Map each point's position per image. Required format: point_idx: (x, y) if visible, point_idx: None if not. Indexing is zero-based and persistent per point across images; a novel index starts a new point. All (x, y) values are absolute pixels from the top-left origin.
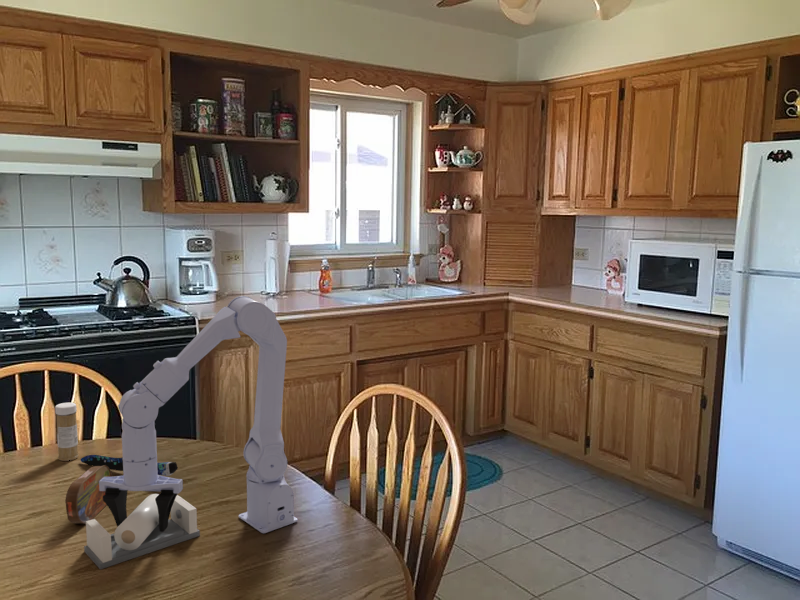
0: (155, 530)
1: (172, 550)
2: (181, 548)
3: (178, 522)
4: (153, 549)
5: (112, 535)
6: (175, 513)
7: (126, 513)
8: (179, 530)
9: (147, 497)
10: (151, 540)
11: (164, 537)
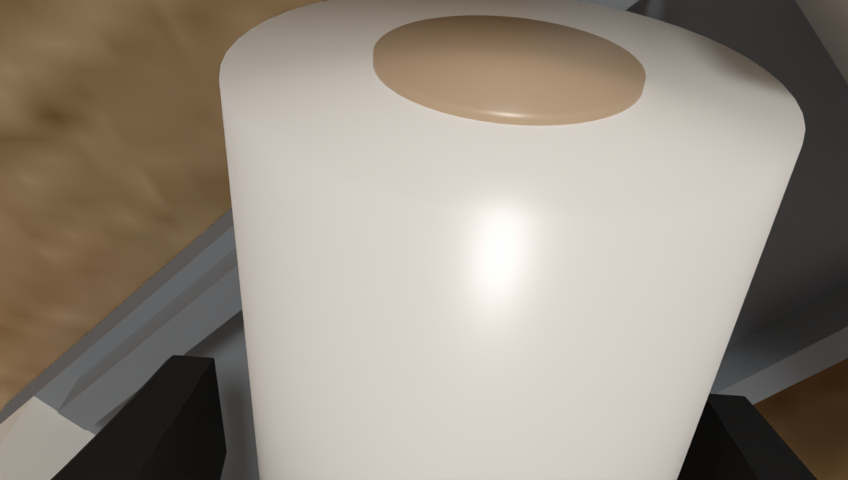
0: None
1: (756, 403)
2: (838, 379)
3: (843, 61)
4: None
5: (139, 387)
6: (846, 23)
7: (156, 457)
8: (840, 187)
9: (334, 286)
10: None
11: None
